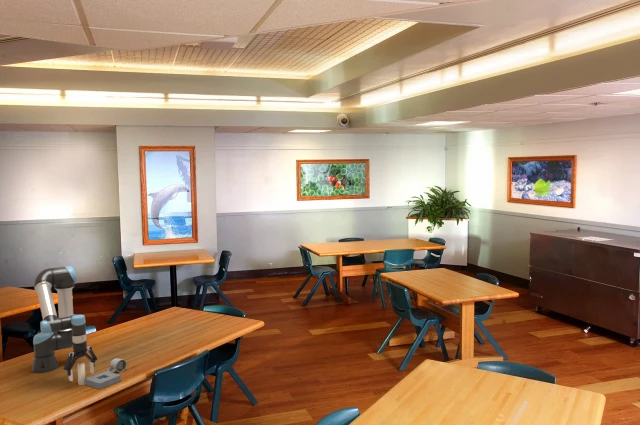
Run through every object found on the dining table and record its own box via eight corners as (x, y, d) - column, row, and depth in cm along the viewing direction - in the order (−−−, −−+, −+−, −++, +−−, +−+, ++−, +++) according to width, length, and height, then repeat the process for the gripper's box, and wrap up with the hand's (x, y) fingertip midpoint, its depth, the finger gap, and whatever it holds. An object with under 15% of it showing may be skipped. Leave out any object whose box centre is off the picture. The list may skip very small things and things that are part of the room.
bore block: (85, 384, 309) (84, 378, 308) (105, 376, 320) (105, 371, 320) (100, 389, 301) (99, 383, 301) (120, 380, 313) (120, 375, 313)
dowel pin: (76, 384, 310) (75, 364, 309) (83, 382, 313) (81, 362, 312) (81, 385, 307) (79, 365, 307) (87, 383, 311) (86, 363, 310)
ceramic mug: (120, 367, 336) (119, 355, 335) (127, 369, 331) (126, 358, 330) (104, 372, 328) (103, 360, 327) (112, 375, 323) (111, 363, 322)
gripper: (63, 348, 296) (65, 385, 297) (102, 336, 317) (104, 370, 318) (55, 346, 300) (57, 382, 301) (94, 334, 321) (96, 368, 322)
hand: (81, 376), depth 310 cm, fingers open, 13 cm apart
